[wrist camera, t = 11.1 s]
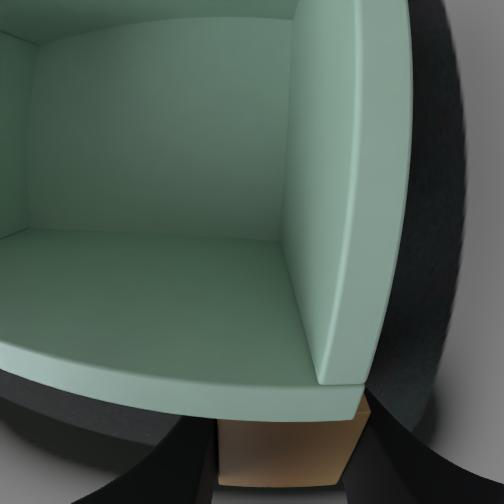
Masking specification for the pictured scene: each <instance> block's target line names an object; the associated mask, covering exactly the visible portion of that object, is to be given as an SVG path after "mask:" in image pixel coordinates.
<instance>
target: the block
mask: <svg viewBox="0 0 504 504" xmlns="http://www.w3.org/2000/svg"><path fill="white" fill-rule="evenodd" d="M370 413H371V411H370V408H369V405H368V403H367V400H366V397H365V395H364V392H363V395H362V398H361V401H360V403H359V406H358V409H357V412H356V414H355V417H354V418H353V419H352V420H341V421H319V422H265V421H243V420H228V419H217V439H218V474H219V484H220V485H232V486H251V487H301V486H319V485H332V484H336V483H337V481H338V480H339V478H340V476H341V474H342V472H343V470H344V468H345V466H346V464H347V463H348V461H349V459H350V457H351V455H352V453H353V450H354V448H355V446H356V444H357V442H358V440H359V438H360V436H361V433H362V431H363V429H364V427H365V425H366V422H367V420H368V418H369V415H370Z"/></svg>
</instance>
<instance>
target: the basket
mask: <svg viewBox="0 0 504 504" xmlns="http://www.w3.org/2000/svg"><path fill="white" fill-rule="evenodd" d="M412 120H413V64H412V43H411V29H410V18H409V8H408V0H0V369H3V370H5V371H8V372H10V373H13V374H16V375H18V376H21V377H24V378H27V379H30V380H33V381H36V382H39V383H42V384H45V385H48V386H51V387H54V388H58V389H61V390H64V391H68V392H72V393H75V394H79V395H83V396H87V397H90V398H94V399H99V400H103V401H107V402H112V403H116V404H121V405H126V406H131V407H136V408H142V409H147V410H153V411H159V412H166V413H172V414H180V415H187V416H196V417H205V418H216V419H228V420H243V421H265V422H319V421H341V420H352V419H353V418H354V417H355V414H356V412H357V409H358V406H359V403H360V401H361V398H362V395H363V392H364V389H365V385H364V383H365V382H366V380H367V377H368V374H369V371H370V368H371V365H372V361H373V358H374V354H375V351H376V347H377V344H378V340H379V337H380V333H381V329H382V325H383V321H384V317H385V313H386V309H387V305H388V301H389V296H390V292H391V287H392V283H393V278H394V273H395V268H396V262H397V257H398V252H399V246H400V240H401V234H402V227H403V220H404V213H405V206H406V198H407V189H408V179H409V169H410V157H411V142H412Z"/></svg>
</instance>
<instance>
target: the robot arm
mask: <svg viewBox="0 0 504 504" xmlns="http://www.w3.org/2000/svg"><path fill="white" fill-rule="evenodd" d="M364 395H365V397H366V400H367V403H368V405H369V408H370V411H371V413H370V415H369V418H368V420H367V422H366V425H365V427H364V429H363V431H362V433H361V436H360V438H359V440H358V442H357V444H356V446H355V448H354V450H353V453H352V455H351V457H350V459H349V461H348V463H347V464H346V466H345V468H344V470H343V472H342V478H343V482H344V486H345V490H346V496H347V502H348V504H504V484H502V483H498V482H495V481H492V480H489V479H486V478H483V477H481V476H478V475H476V474H473V473H471V472H469V471H467V470H465V469H462V468H461V467H459V466H457V465H455V464H453V463H452V462H450V461H448V460H447V459H445V458H443V457H441V456H440V455H439V454H437V453H436V452H434V451H433V450H431V449H430V448H428V447H427V446H426V445H425V444H423V443H422V442H420V441H419V440H418V439H417V438H416V437H414V436H413V435H412V434H411V433H410V432H409V431H408V430H407V429H405V428H404V427H403V426H402V425H401V424H400V423H399V422H398V421H397V420H396V419H395V418H394V417H393V416H392V415H391V414H390V413H389V412H388V411H387V410H386V409H385V408H384V407H383V406H382V405H381V403H380V402H379V401H378V400H377V399H376V398H375V397H374V396H373V395H372V393H371V392H370V391H369V390H368V389H367V388H366V387H365V389H364ZM217 470H218V439H217V419H216V418H205V417H196V416H187V415H182V416H181V418H180V419H179V420H178V422H177V423H176V424H175V425H174V426H173V428H172V429H171V430H170V431H169V432H168V434H167V435H166V436H165V437H164V438H163V439H162V440H161V441H160V442H159V443H158V444H157V445H156V446H155V447H154V448H153V449H152V450H151V451H150V452H149V453H148V454H147V455H146V456H145V457H143V458H142V459H141V460H140V461H139V462H137V463H136V464H135V465H134V466H133V467H131V468H130V469H129V470H128V471H126V472H125V473H123V474H122V475H120V476H119V477H118V478H116V479H115V480H113V481H111V482H110V483H108V484H107V485H105V486H104V487H102V488H100V489H98V490H97V491H95V492H93V493H91V494H89V495H87V496H85V497H83V498H81V499H79V500H77V501H75V502H73V503H71V504H211V500H212V494H213V488H214V484H215V479H216V474H217Z"/></svg>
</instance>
